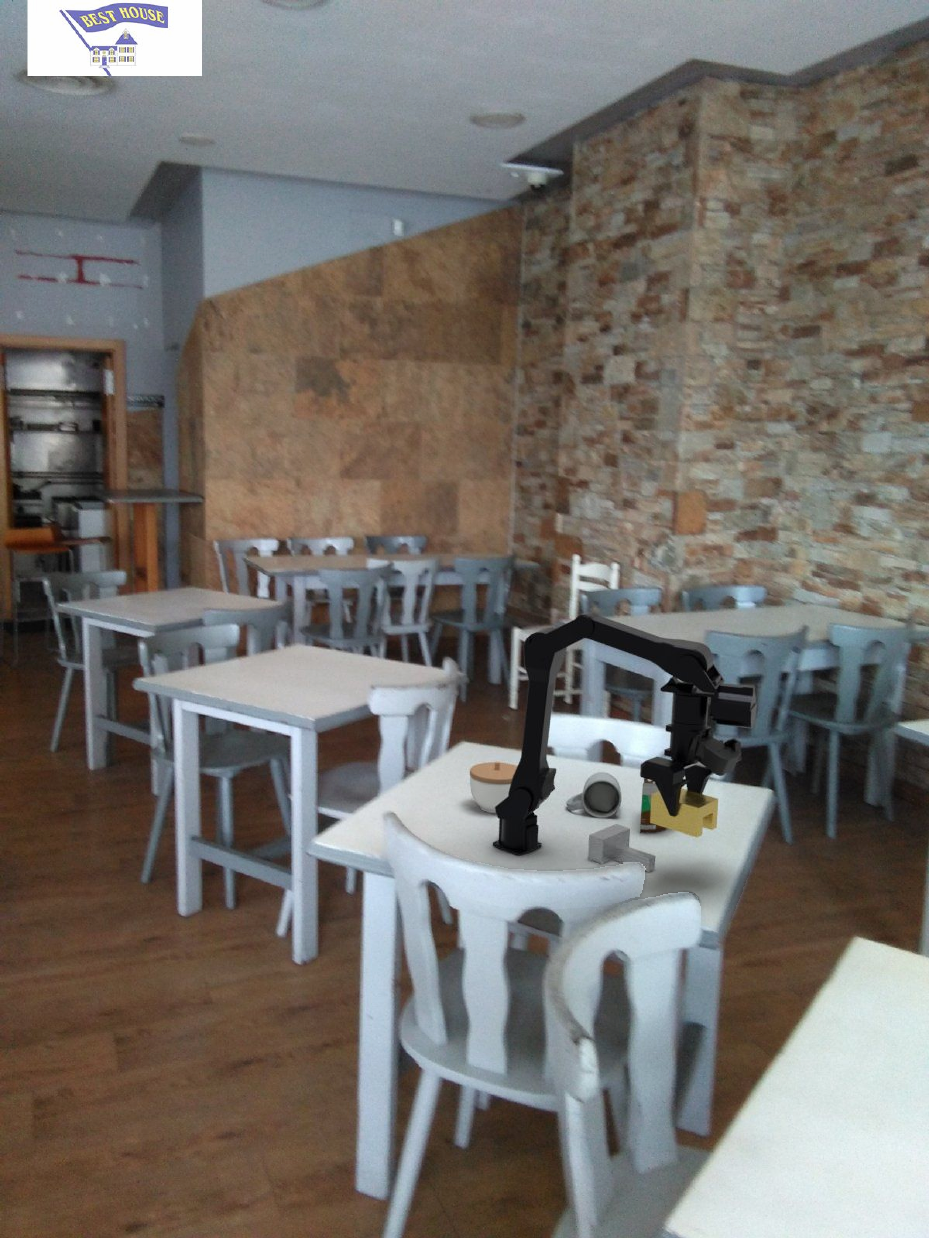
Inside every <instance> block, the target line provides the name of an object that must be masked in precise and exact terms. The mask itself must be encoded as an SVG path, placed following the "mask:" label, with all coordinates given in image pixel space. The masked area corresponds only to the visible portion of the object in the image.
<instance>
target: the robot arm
mask: <svg viewBox="0 0 929 1238" xmlns="http://www.w3.org/2000/svg"><path fill="white" fill-rule="evenodd" d="M583 639H589V640H592V641H593V642H596V643H599V644H602V645H605V646H606V647H607V646H608V647H610V648H613V649H616V650H618V651H621V652H624V653H628V654H630V655H632V656H635V657H638V658H641V659H644V660H646V661H649V662H651V663H653V664H654V665H656V666H657V667H658V668H660V669H661V670H663V672H664V673H666V674H668V675H669V676H671V677H670V678H669V680H668V681H667V682H666V683H665V684H663V686H661V687H660V689H659V690H660V692H663V693H671V694H672V701H671V702H672V705H671V720H670V721H671V722H670V724H669V723H668V724H666V725H665V732H668V733H670V735H669V736H670V738H669V747H668V748H665V749H664V750H663V752H664V753H663V756H665V757H669V758H670V759H669V758H664V757H660V756H655V757H652V758H649V759H646V760H645V761H643V762H642V763H641V764H640V772H639V776H640V778H641V779H644V778H646V779H649V780H653V781H654V782H655V784H656V786H657V788H658V790H659V792H660V794H661V796H662V798H663V801H664V803H665V805H666V808H667V810H668V813H669V815H670V816H673V817H676V816H677V811H678V807H679V800H680V794H681V789H683V787H684V786H685V785H686V790H689V791H693V792H696V793H700V794H703V793H704V791H705V788H706V787H707V784H708V781H709V779H710V777H711V776H714V775H716V776H719V777H723V776H725V775H726V774H727V773H732V772H733V771H734V770H735V767H736V764H737V763H738V762H741V761H742V759H743V758H742V756H741V755H742V742H741V741H739V740H738V739H736V738H735V737H732V738H729V739H727V740H726V741H725V742H724V740H723V739H720V740H718V739H716V738H714V729H713V727H712V726H709V725H708V713H709V717H711V718H712V721H715V723H716V725H722V726H730V727H736V728H737V727H738V728H745V729H754V726H755V722H756V717H757V708H758V703H757V702H756V701H757V700H756V699H757V698H756V697H757V696H756V686H755V685H753V684H732V683H726V680H725V679H724V677H723V675H721V673H720V671H719V670H718V668H717V667H716V665H715V664H714V656H713V652H712V651H711V649H710V647H709V646H708V645H706V644H704V643H702V642H698V641H693V640H688V639H687V640H685V639H682V638H681V639H680V638H679V639H678V638H667V637H661V636H658V635H655V634H652V633H650V632H646V631H644V630H641V629H638V628H635V627H632V626H630V625H628V624H624V623H621V622H619V621H615V620H612V619H610V618H607V617H604V616H601V615H599V614H598V613H596V612H594V611H585V612H584V613H581V614H580V615H578V616H577V617H575V619H573V620H571V621H569V622H567V623H565V624H562V625H561V626H559V627H553V626H552V627H550V626H547V627H545V628H542V629H540V630H538V631H535V632H534V633H533V632H532V633H531V634H530V635H528V636H527V637H526V638H525V639H524V642H523V647H522V649H523V665H524V669H525V673H526V675H527V679H528V686H527V694H526V695H527V696H526V703H525V704H526V706H525V715H524V725H523V732H522V733H523V735H522V744H521V745H522V746H521V754H520V755H521V756H520V759H519V762H518V764H517V765H516V766H517V768H516V771H515V773H514V775H513V778H512V782H511V785H510V789H509V793H508V797H507V798H505V799H504V800H503V801H502V802H500V803H499V804H498V805H497V806H495V810H496V813H495V814H496V816H497V817H496V818H497V819H499V822H498V840H496V841H492V846H494V847H496V848H498V849H501V850H504V851H506V852H509V853H511V854H514V855H517V856H521V855H524V854H526V853H527V854H528V853H529V852H531V851H532V852H533V851H534V850H536V849H539V848H542V845H543V844H542V843H541V842H539V828H540V827H539V824H538V815H537V814H535V811H536V810H538V809H539V807H540V806H541V805H542V804H543V803H544V802H545V801H546V800H547V799H548V798H549V797H550V796H551V793H553V791H555V790H556V787H555V777H556V774H557V768H554V767H550V766H549V762H548V759H547V758H548V757H547V755H548V754H547V753H548V745H549V737H550V728H551V727H550V725H551V719H552V708H553V701H554V691H555V681H556V680H557V676H558V674H559V672H560V671H561V670H560V669H561V667H562V665H563V663H564V659H565V656H566V653H567V649H568V647H570V646H571V645H573V644H575V643H578V642H579V641H582V640H583ZM709 698H710V705H709ZM708 710H709V711H708ZM703 795H704V794H703Z"/></svg>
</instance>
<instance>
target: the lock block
mask: <svg viewBox="0 0 929 1238" xmlns="http://www.w3.org/2000/svg"><path fill="white" fill-rule="evenodd" d="M718 808H719V799H718V798H717V797H715V796H713V797H712V796H710V795H707V794H700V793H696V792H693V791H689V790H687V788H682V789H681V794H680V800H679V807H678V811H677V816H676V817H673V816H670V815H669V813H668V810H667V808H666V805H665V803H664V801H663V798H662V796H661V794H660V792H659V791H658V792H655V793H653V794H651V817H650V823H653V824H656V825H659V826H662V827H665V828H666V829H669V830H672V831H675V832H679V833H682V834H684V835H688V836H691V837H694V838H696V839H697V838H699V837H702V836H703V829H706V830H710V831H713V830H715V829H716V828H717V826H718V810H719V809H718Z"/></svg>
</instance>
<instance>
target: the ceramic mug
mask: <svg viewBox="0 0 929 1238" xmlns="http://www.w3.org/2000/svg"><path fill="white" fill-rule="evenodd" d="M565 804H566V807H567V810H568V811H572V812H573V811H578V810H581V809H584V810H585V811H586V812H587V814H589V815H590V816H592V817H595V818H599V819H606V818H610V817H612V816H614V815H615V814H616V813H617V812H618V810H619V809H620V807H621V805H622V791H621V786H620V782H619V781H618V779H617V778H616V777H615V776H613V775H612V774H610V773H608V772H605V771H603V772H602V771H599V772H595V773H592V774H591V775H590V776H589V777H588V778H587V780H586V781H585V783H584V785H583V789H582V792H580V793H578V794H575V795H573V796H571V797H570V798H568V799H567V801H566V802H565Z"/></svg>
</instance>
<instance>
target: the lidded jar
mask: <svg viewBox="0 0 929 1238" xmlns="http://www.w3.org/2000/svg"><path fill="white" fill-rule="evenodd" d="M517 766H518V765H515V764H512V763H506V762H500V761H491V762H482V763H478V764H475V765H472V766H471V767H470V769H469V776H470V777H469V784H470V785H469V787H470V793H471V795H472V796H471V797H472V799H473V800H474V802H475V803H476V804H477V805H478V806H479V808H480V810H481V811H482V812H485V811H486V813H490V814H496V810H495V806H497V805H498V804H499V803H500V802H502V801H503V800H504V799H505V798H507V797H508V793H509V789H510V785H511V782H512V778H513V775H514V773H515V771H516V768H517Z"/></svg>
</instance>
